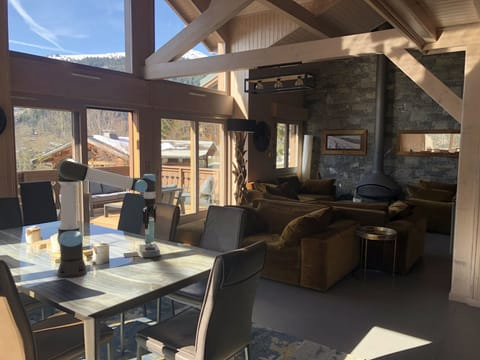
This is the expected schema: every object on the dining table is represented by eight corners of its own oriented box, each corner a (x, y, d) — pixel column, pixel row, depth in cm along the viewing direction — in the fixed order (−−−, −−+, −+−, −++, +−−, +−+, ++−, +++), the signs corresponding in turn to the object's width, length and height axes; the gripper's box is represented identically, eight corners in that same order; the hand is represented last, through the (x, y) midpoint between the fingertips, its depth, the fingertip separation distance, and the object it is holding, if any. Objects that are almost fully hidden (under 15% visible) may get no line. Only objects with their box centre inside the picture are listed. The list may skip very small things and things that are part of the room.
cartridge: (150, 242, 245) (151, 218, 243) (143, 241, 247) (143, 217, 245) (155, 240, 250) (155, 216, 248) (148, 239, 252) (148, 216, 250)
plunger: (145, 251, 255) (145, 241, 254) (144, 249, 259) (144, 239, 258) (152, 250, 256) (152, 240, 256) (151, 249, 261) (151, 238, 260)
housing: (159, 256, 247) (159, 250, 247) (142, 257, 243) (142, 251, 243) (155, 249, 263) (155, 243, 263) (139, 250, 259) (139, 244, 259)
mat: (124, 257, 243) (124, 257, 243) (123, 253, 251) (123, 253, 251) (138, 256, 246) (138, 255, 246) (137, 252, 254) (137, 251, 254)
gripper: (147, 200, 236) (147, 236, 238) (161, 196, 253) (161, 230, 255) (136, 199, 238) (136, 235, 240) (152, 195, 255) (152, 229, 257)
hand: (149, 232), depth 248 cm, fingers closed on cartridge, 5 cm apart
